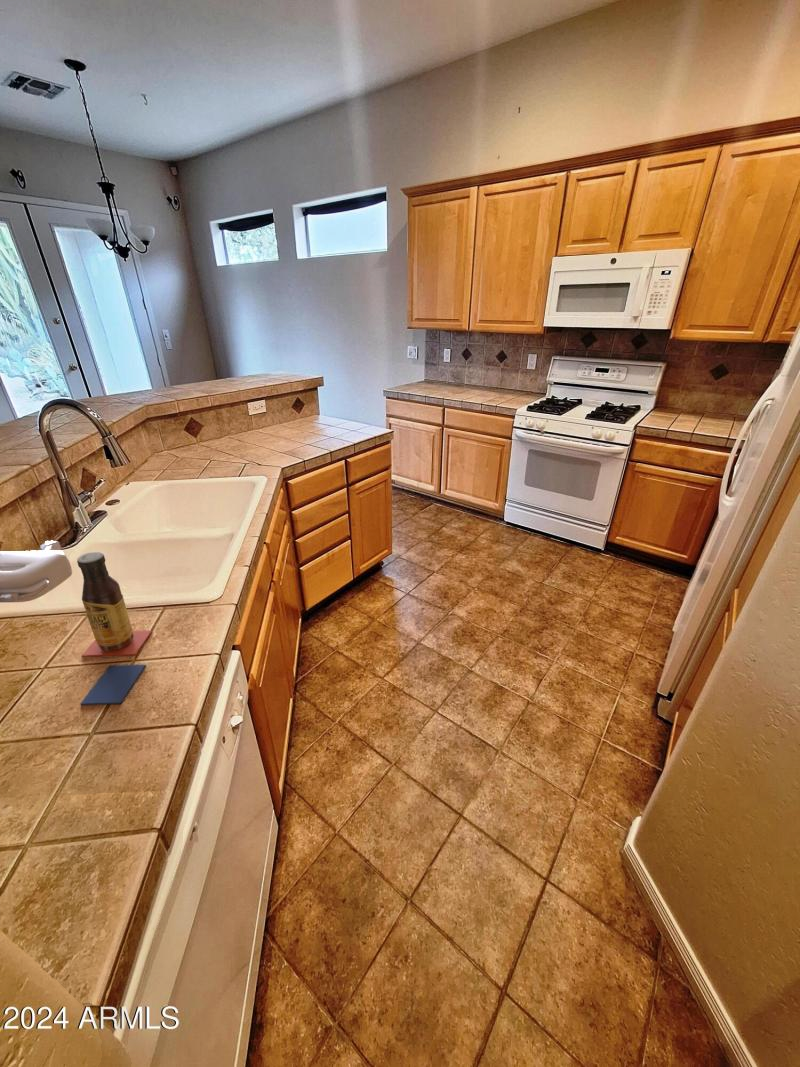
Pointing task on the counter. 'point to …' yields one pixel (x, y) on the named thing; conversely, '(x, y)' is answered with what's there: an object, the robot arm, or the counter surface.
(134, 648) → the terracotta mat
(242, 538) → the counter surface
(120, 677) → the blue mat
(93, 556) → the sauce bottle
